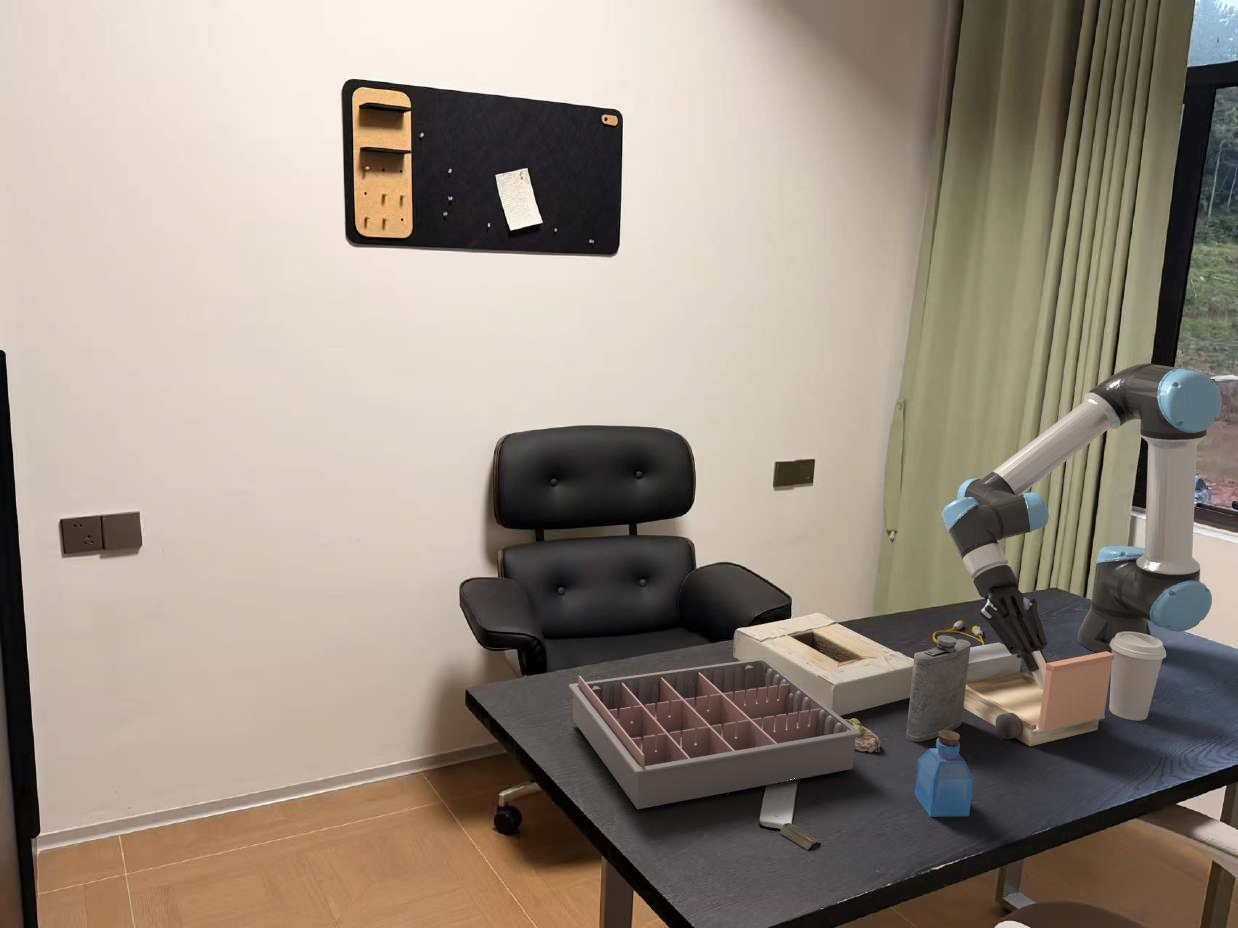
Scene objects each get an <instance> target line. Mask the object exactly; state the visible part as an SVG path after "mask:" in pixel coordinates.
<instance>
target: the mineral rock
mask: <svg viewBox="0 0 1238 928" xmlns="http://www.w3.org/2000/svg"><path fill="white" fill-rule="evenodd" d="M840 717H841V716H840ZM841 718H843V717H841ZM843 719H844V718H843ZM844 720H845V721H847V722H848V723H849V724H850V725H852V726H853V727H854V728H856V729H857V730H858V731H859V732H861V734H862V735H859V736H856V738H855V750H854V751H858V752H868V753H872V752H874V753H875V752H877V753H879V752H880V751H881V748H880V747H881V746H882V741H881V740H880V739H879V736H878V735H876V734H875V733H873V731H872V730H871V729H868V728H867V727H864V726H863V725H862V723H861V722H860V720H858V719H857V718H851V719H847V718H845V719H844Z"/></svg>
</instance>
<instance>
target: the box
mask: <svg viewBox="0 0 1238 928" xmlns="http://www.w3.org/2000/svg"><path fill="white" fill-rule="evenodd" d="M732 656H733V658H734V659H736V660H738V661H746V660H753V659H761V658H765V659H767V660H768V661H769V662H770V663H772V664H773V665H774V666H776V667H777V668H778V669H779V670H781V671H782V672H783V673H785V674H786V675H787V676H789V677H790V678H791V679H792V680H794V681H795V682H796V683H798V684H799V685H800V686H801V687H803V688H804V689H805V690H807V691H808V692H809V693H810V694H812V695H813V696H814V697H816V698H817V699H818V700H819V701H821V702H822V703H823V704H825V705H826V706H827V707H828V708H830V709H831V710H832V711H834V712H835V713H836V714H837V715H839V716H840V717H841V716H845V715H848V714H849V715H850V714H852V713H856V712H859V711H863V710H867V709H872V708H874V707H879V706H883V705H887V704H891V703H894V702H898V701H901V700H902V701H903V700H907V699H910V693H911V683H912V673H913V664H914V658H913V657H910V656H908V655H905V654H903V653H902V652H900V651H894V649H890V648H889V647H887V646H884V645H882V644H881V643H878V642H876V641H874V640H872V639H870V638H869V637H866V636H864V635H862V634H860V633H858V632H856V631H854V630H852V629H850V628H847V627H846V626H844V625H841V624H839V623H838V621H836V620H834V619H832V618H830V617H828V616H827V615H824V614H823V613H820V612H815V613H810V614H808V615H807V614H806V615H803V616H798V617H797V616H796V617H794V618H788V619H787V618H786V619H784V620H778V621H773V622H772V621H771V622H768V623H767V622H766V623H763V624H757V625H751V626H747V627H745V626H744V627H739V628H737V629H735V631H734V634H733V655H732Z"/></svg>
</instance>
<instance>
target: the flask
mask: <svg viewBox="0 0 1238 928" xmlns="http://www.w3.org/2000/svg"><path fill="white" fill-rule="evenodd" d="M936 640H937V642H938V644H937V646H936V647H933V648H931V649H927V650H925V651H919V652H915V653H914V655H913V659H914V664H913V673H912V683H911V693H910V698H909V704H908V715H907V724H906V734H905V738H906V739H907V740H908V741H910V742H913V743H920V742H925V741H928V740H933V739H936V738H939V734H938V733H939V731H942V730H949V731H954V730H956V729H957V728H958V727H960V726H961V725H962V724H963V723H962V722H963V714H964V708H963V707H964V698H965V690H966V681H967V672H968V663H969V655H970V647H972V644H971V642H970V641H968V640H966V639H956V638H955V637H953V636H951V635H939V636H937V639H936Z"/></svg>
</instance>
